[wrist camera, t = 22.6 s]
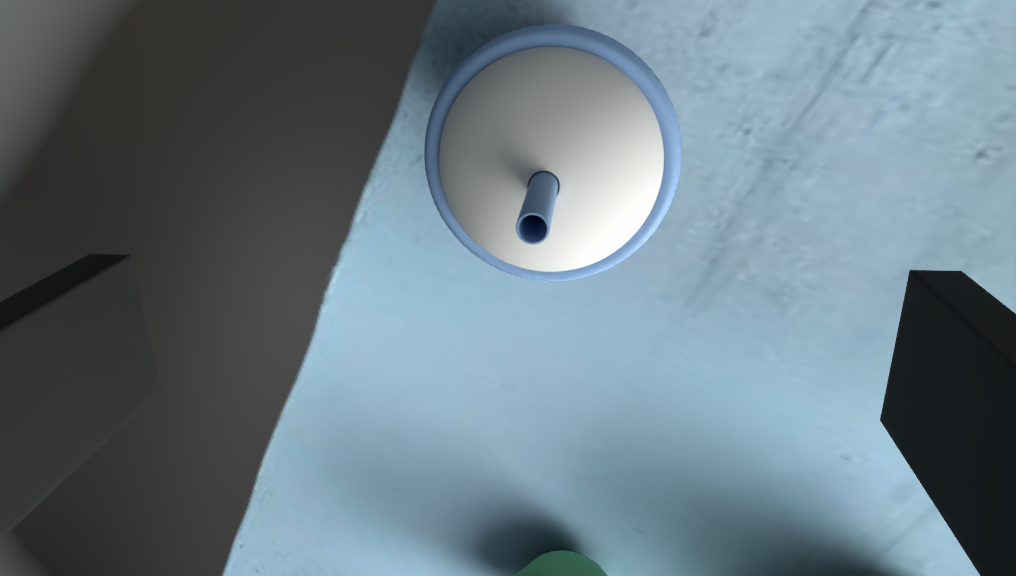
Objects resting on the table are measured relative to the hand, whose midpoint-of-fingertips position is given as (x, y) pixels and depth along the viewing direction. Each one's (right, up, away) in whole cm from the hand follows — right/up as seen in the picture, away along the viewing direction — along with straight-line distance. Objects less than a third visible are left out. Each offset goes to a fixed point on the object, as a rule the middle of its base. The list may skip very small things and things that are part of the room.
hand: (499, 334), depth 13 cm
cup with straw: (+3, +9, +23) cm, 25 cm away
